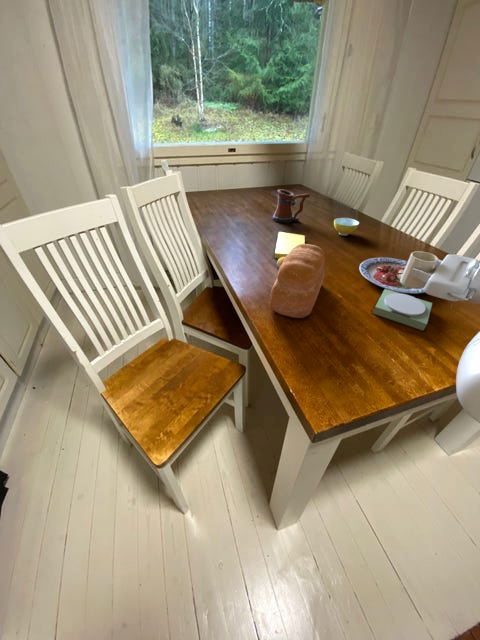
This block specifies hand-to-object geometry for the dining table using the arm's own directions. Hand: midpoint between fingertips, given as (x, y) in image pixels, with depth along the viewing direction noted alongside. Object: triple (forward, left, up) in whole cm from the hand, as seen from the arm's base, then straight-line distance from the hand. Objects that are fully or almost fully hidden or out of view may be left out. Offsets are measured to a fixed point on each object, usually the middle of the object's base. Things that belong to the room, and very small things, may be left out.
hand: (416, 265), depth 72 cm
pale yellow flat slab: (+49, -26, -17) cm, 58 cm away
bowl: (+35, -56, -17) cm, 68 cm away
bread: (+29, +7, -17) cm, 34 cm away
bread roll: (+41, -9, -17) cm, 45 cm away
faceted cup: (-1, 0, -5) cm, 5 cm away
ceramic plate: (+5, -24, -17) cm, 30 cm away
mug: (+66, -58, -17) cm, 89 cm away
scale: (-1, -4, -17) cm, 17 cm away
